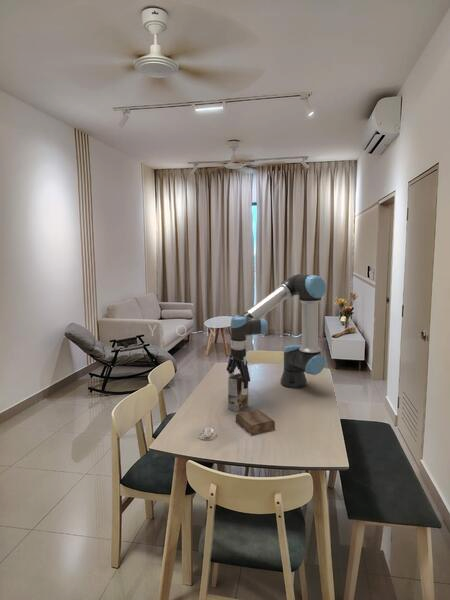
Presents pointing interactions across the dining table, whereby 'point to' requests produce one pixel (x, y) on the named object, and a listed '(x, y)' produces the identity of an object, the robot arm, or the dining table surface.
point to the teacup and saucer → (208, 431)
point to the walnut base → (255, 421)
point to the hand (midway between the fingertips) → (237, 390)
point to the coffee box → (236, 393)
